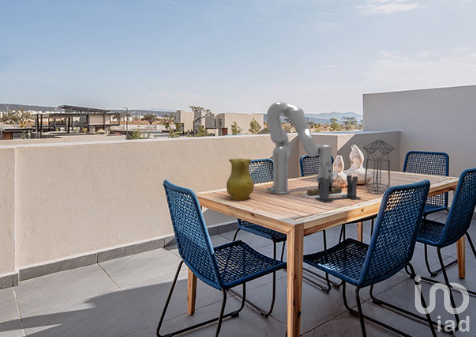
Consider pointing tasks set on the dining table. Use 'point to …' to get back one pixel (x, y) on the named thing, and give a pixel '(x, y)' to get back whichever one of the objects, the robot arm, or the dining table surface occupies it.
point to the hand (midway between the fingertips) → (324, 190)
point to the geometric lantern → (377, 164)
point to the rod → (317, 191)
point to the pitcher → (240, 180)
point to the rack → (350, 195)
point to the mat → (329, 195)
